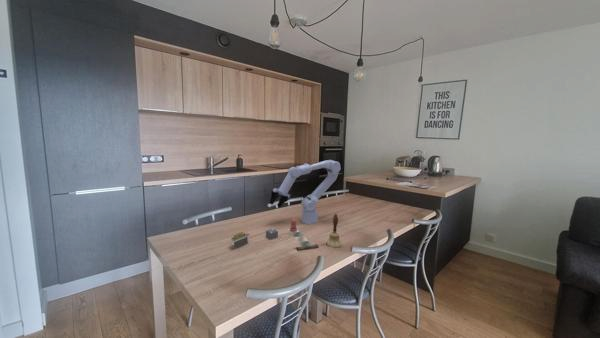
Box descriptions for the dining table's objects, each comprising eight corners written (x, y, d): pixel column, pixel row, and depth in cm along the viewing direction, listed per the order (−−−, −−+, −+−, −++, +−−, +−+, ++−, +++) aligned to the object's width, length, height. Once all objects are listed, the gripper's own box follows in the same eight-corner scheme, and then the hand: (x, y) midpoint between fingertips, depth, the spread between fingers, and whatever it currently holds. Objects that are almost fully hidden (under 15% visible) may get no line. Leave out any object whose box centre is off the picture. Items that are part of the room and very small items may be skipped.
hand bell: (343, 241, 129) (344, 212, 127) (340, 248, 122) (342, 217, 119) (327, 239, 132) (329, 210, 130) (324, 245, 124) (325, 215, 122)
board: (300, 228, 145) (300, 226, 145) (318, 247, 122) (318, 245, 122) (282, 231, 141) (282, 229, 141) (297, 251, 118) (297, 248, 118)
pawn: (295, 228, 142) (295, 217, 141) (298, 231, 138) (298, 219, 137) (289, 229, 141) (289, 217, 140) (291, 232, 137) (291, 220, 136)
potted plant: (217, 248, 119) (216, 235, 118) (246, 237, 133) (246, 225, 132) (232, 256, 112) (232, 243, 111) (261, 243, 126) (261, 231, 125)
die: (272, 236, 133) (272, 228, 132) (277, 239, 130) (277, 231, 129) (265, 238, 130) (265, 230, 130) (270, 241, 127) (270, 233, 126)
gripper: (288, 185, 154) (277, 204, 153) (274, 178, 142) (262, 199, 142) (296, 190, 149) (285, 210, 149) (282, 184, 138) (270, 204, 138)
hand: (274, 205), depth 145 cm, fingers open, 7 cm apart
